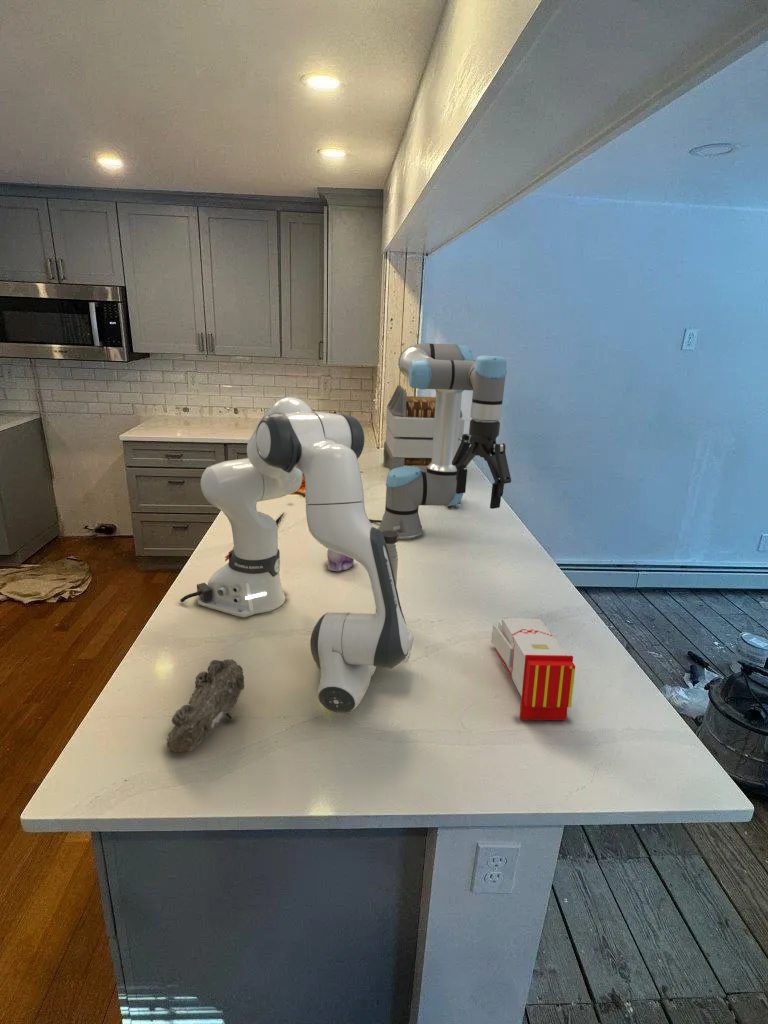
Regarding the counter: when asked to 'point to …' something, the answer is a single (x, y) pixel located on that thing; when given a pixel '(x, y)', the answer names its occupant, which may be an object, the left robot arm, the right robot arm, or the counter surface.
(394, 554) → the bottle
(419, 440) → the white wooden crate
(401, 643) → the left robot arm
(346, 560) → the figurine
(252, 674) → the counter surface
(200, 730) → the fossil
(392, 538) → the cap
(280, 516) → the feather
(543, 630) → the toy
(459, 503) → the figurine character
